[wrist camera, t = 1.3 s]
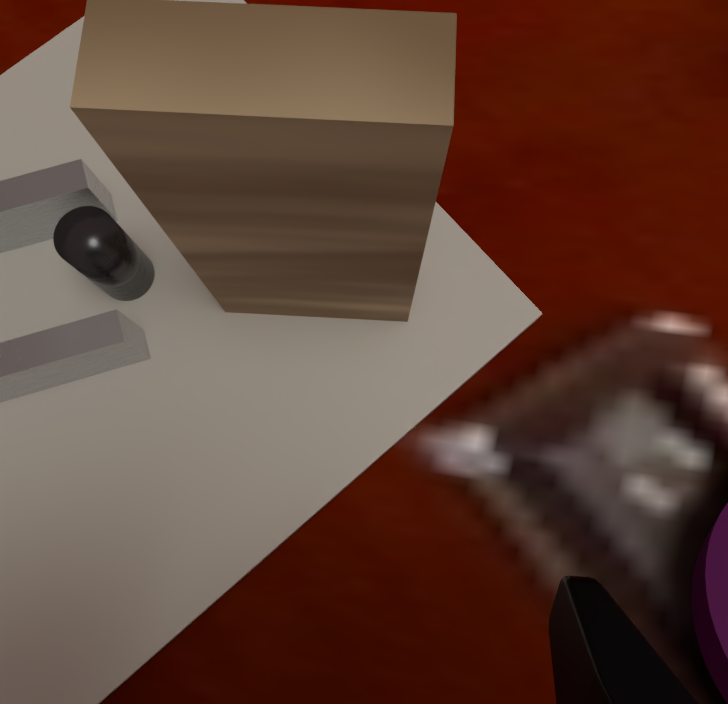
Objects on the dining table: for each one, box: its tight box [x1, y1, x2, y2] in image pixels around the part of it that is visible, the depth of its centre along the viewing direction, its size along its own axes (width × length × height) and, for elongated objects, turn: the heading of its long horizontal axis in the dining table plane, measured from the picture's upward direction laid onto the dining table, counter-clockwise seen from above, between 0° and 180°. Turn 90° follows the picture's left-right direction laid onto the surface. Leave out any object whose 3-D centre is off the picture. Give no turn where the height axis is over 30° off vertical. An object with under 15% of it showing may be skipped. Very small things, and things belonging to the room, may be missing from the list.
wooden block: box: [70, 0, 457, 322], centre depth 17 cm, size 3×6×12 cm, turn 87°
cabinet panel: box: [0, 0, 542, 704], centre depth 23 cm, size 23×19×1 cm
